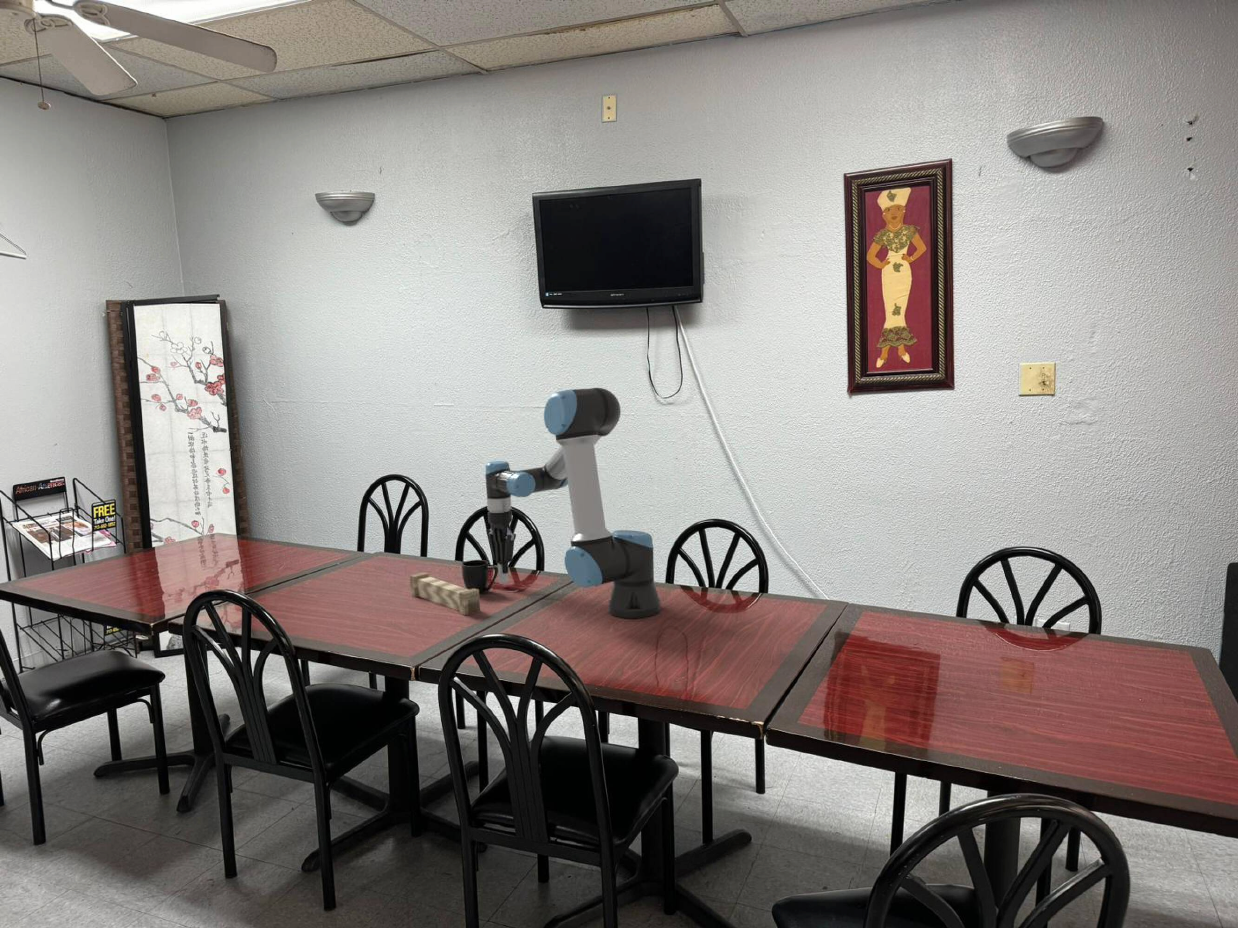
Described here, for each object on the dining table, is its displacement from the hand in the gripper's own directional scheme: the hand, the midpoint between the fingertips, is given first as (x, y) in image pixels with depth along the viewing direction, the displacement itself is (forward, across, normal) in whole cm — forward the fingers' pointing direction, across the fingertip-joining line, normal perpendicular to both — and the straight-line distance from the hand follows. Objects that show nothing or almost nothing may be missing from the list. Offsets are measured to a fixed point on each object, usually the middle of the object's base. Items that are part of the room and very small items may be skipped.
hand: (503, 582), depth 282 cm
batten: (+1, 0, +22) cm, 22 cm away
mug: (+2, 0, +8) cm, 9 cm away
